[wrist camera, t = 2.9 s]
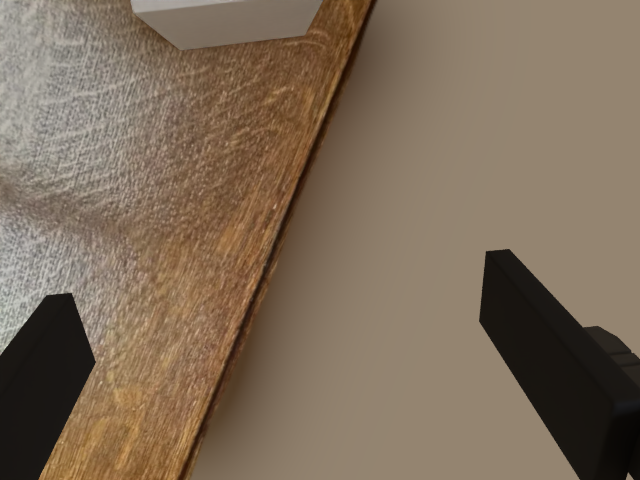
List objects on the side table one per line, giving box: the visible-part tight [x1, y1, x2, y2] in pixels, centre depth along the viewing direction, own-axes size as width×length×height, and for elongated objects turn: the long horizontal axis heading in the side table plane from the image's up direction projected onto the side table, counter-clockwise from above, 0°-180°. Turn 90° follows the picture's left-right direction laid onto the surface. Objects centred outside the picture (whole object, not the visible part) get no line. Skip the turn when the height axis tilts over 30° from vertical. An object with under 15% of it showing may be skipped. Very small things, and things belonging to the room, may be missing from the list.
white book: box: [130, 0, 323, 50], centre depth 28 cm, size 9×2×13 cm, turn 97°
